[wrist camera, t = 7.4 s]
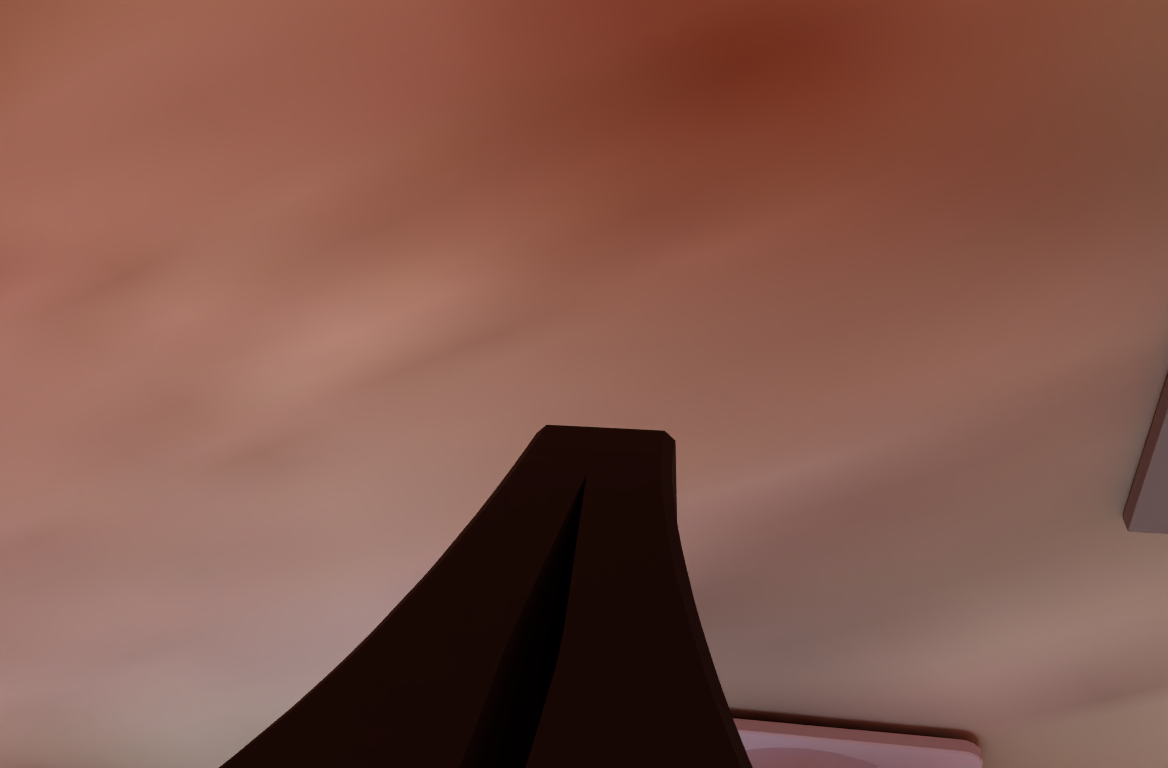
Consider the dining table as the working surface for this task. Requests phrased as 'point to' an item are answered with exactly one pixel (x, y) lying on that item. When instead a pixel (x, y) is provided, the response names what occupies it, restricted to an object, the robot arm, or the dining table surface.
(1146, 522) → the mat
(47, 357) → the dining table surface
